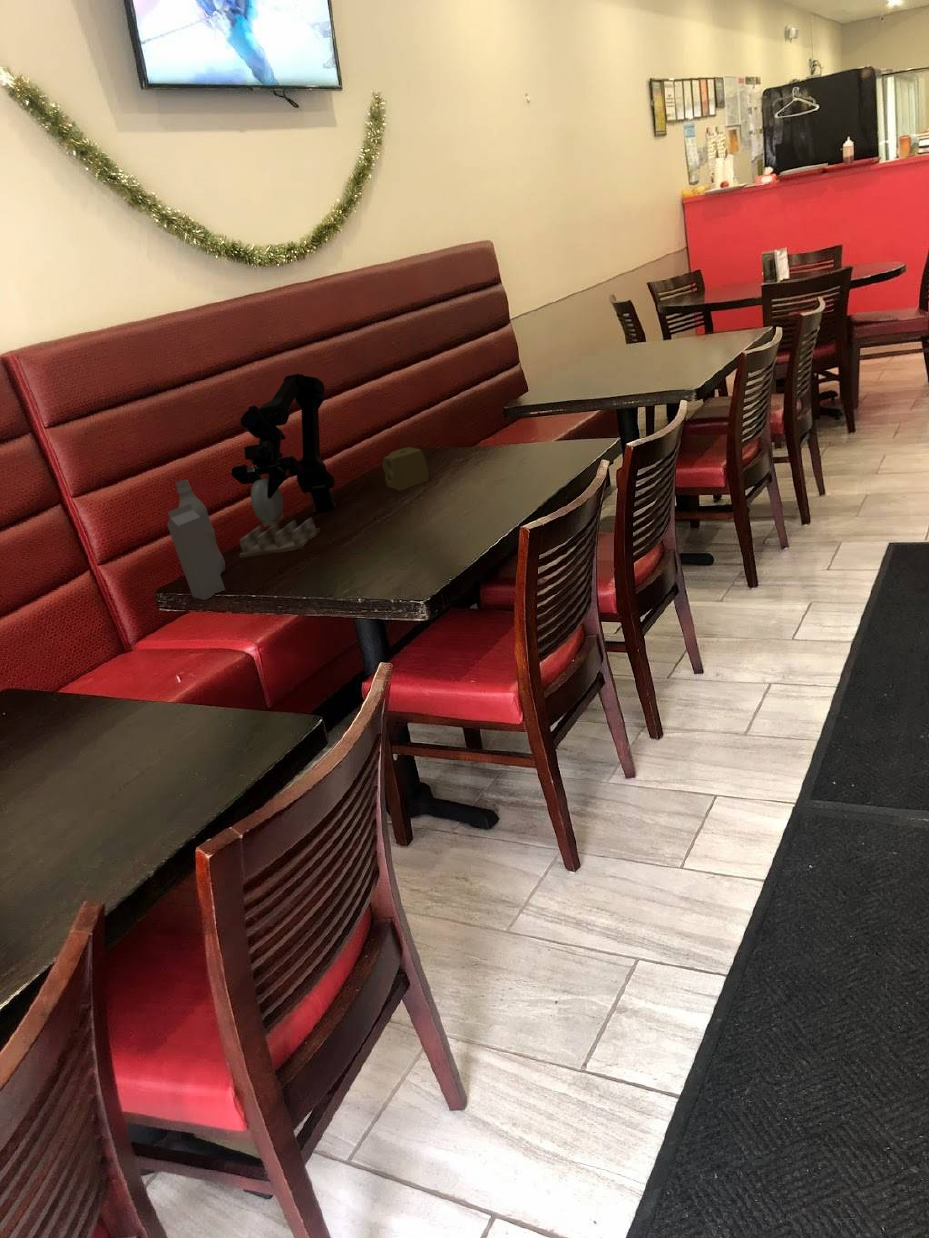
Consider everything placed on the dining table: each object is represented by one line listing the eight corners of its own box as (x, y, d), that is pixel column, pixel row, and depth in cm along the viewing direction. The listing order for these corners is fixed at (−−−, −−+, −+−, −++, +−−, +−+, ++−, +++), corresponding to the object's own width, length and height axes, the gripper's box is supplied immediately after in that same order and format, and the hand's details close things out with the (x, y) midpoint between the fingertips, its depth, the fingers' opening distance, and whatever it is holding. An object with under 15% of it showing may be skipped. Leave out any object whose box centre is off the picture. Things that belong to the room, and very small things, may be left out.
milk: (225, 591, 238) (196, 503, 230) (204, 600, 235) (173, 512, 227) (213, 588, 242) (184, 502, 235) (192, 597, 239) (162, 511, 231)
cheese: (387, 487, 300) (378, 455, 297) (419, 476, 304) (410, 445, 300) (398, 492, 291) (390, 459, 287) (431, 481, 294) (423, 448, 291)
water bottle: (220, 578, 249) (187, 483, 240) (195, 582, 251) (162, 488, 242) (232, 567, 256) (200, 475, 247) (207, 571, 258) (175, 480, 249)
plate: (278, 515, 269) (265, 474, 265) (287, 513, 268) (274, 472, 264) (259, 529, 259) (245, 487, 255) (268, 528, 258) (255, 485, 254)
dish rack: (263, 540, 275) (258, 524, 274) (320, 531, 269) (316, 515, 268) (240, 558, 263) (234, 542, 261) (299, 549, 257) (294, 533, 255)
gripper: (222, 437, 262) (216, 490, 256) (284, 425, 256) (279, 479, 250) (245, 458, 272) (239, 509, 266) (305, 447, 265) (301, 499, 260)
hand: (263, 498), depth 260 cm, fingers closed on plate, 3 cm apart
